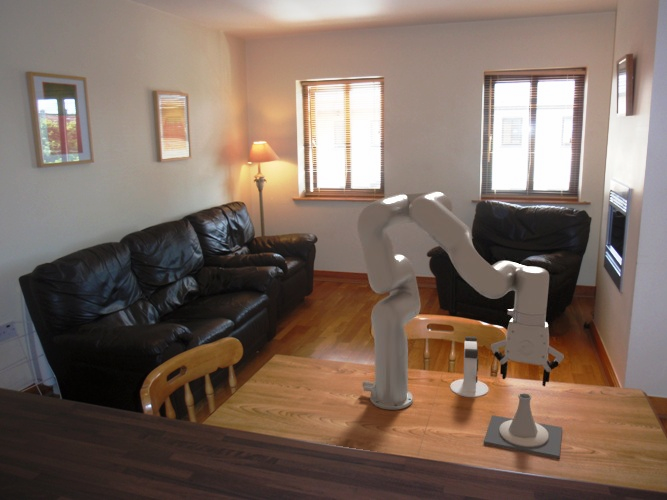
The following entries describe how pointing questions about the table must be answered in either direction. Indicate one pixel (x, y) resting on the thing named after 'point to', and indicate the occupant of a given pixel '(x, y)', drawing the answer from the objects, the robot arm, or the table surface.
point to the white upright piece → (470, 372)
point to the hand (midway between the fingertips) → (524, 380)
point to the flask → (523, 419)
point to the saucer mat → (542, 444)
